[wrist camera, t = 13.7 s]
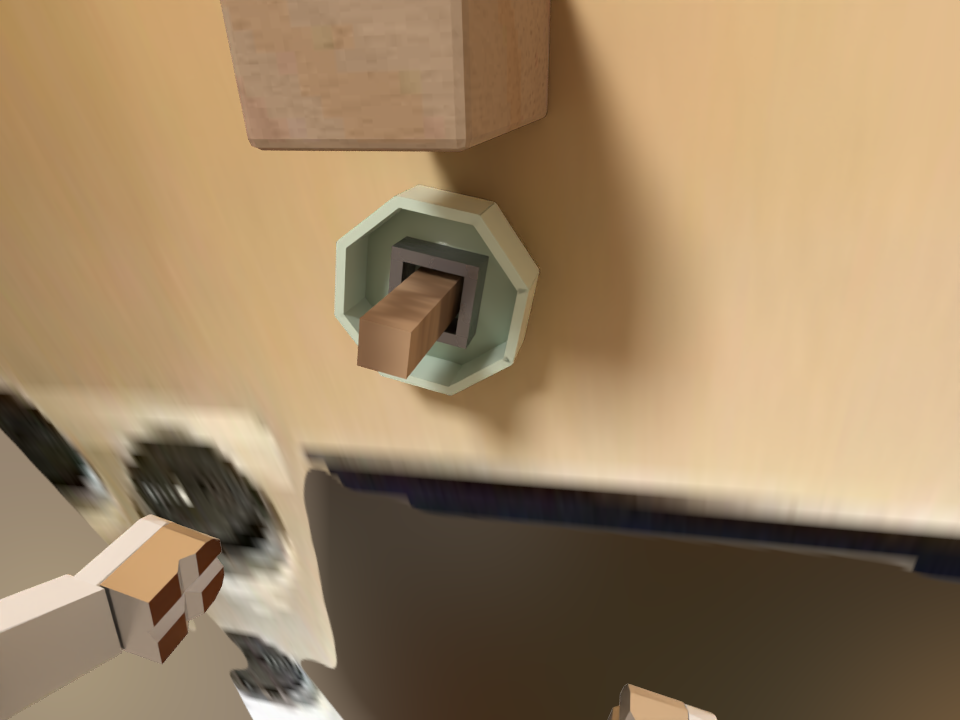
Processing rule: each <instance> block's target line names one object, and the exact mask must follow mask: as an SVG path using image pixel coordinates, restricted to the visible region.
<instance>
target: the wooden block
mask: <svg viewBox="0 0 960 720" xmlns="http://www.w3.org/2000/svg"><path fill="white" fill-rule="evenodd" d="M220 3H221V7H222V12H223V17H224V22H225V27H226V32H227V37H228V42H229V47H230V52H231V57H232V62H233V67H234V72H235V77H236V82H237V87H238V92H239V97H240V102H241V106H242V111H243V116H244V121H245V126H246V131H247V136H248V140H249V142H250V143H251V145H252V146H254V147H256V148H259V149H261V150H287V151H438V152H461V151H463V150H466V149H468V148H471V147H473V146H475V145H478V144H480V143H483V142H485V141H488V140H490V139H493V138H495V137H498V136H500V135H502V134H505V133H507V132H510V131H512V130H515V129H517V128H520V127H522V126H525V125H527V124H529V123H532V122H534V121H537V120H539V119H541V118H544V117H545V116H546V113H547V103H548V70H549V37H550V4H551V0H220Z"/></svg>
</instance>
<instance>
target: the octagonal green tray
mask: <svg viewBox="0 0 960 720" xmlns="http://www.w3.org/2000/svg"><path fill="white" fill-rule="evenodd" d="M406 236H408V237H412V238H416V239H421V240H425V241H429V242H433V243H437V244H441V245H445V246H449V247H453V248H457V249H462V250H466V251H470V252H474V253H478V254H482V255H486V256H489V260H488V266H487V272H486V277H485V283H484V289H483V295H482V300H481V306H480V312H479V318H478V324H477V329H476V334H475V336H474V337H473V339H472V340H471V342H470V343H469V345H468V346H467V348H466V349H464V348H460V347H456V346H453V345H449V344H445V343H442V342H438V341H436V342H435V343H434V345H433V346H432V347H431V349H430V350H429V351H428V352H427V354H426V355H425V356H424V357H423V359H422V360H421V361H420V363H419V364H418V365H417V366H416V368H415V369H414V370H413V371H412V373H411V374H410V375H409V376H408V378H407V379H403V378H400V377H396V376H393V375H389V374H386V373H382V372H379V371H378V372H379V374H380V375H382V376H384V377H387V378H391V379H394V380H398V381H401V382H405V383H408V384H412V385H415V386H419V387H422V388H425V389H429V390H432V391H436V392H439V393H443V394H446V395H450V396H451V395H454V394H456V393H458V392H460V391H462V390H464V389H466V388H468V387H470V386H472V385H473V384H475V383H477V382H479V381H481V380H483V379H485V378H487V377H489V376H491V375H493V374H495V373H497V372H499V371H501V370H503V369H505V368H507V367H509V366H511V365H512V364H513V363H514V361H515V358H516V356H517V354H518V352H519V350H520V347H521V345H522V343H523V341H524V338H525V334H526V329H527V325H528V320H529V316H530V311H531V307H532V303H533V298H534V294H535V289H536V285H537V280H538V276H539V268H538V267H537V265H536V264H535V262H534V261H533V259H532V258H531V256H530V255H529V253H528V251H527V250H526V248H525V247H524V245H523V244H522V242H521V241H520V239H519V238H518V236H517V234H516V233H515V231H514V230H513V228H512V227H511V225H510V224H509V222H508V221H507V219H506V217H505V216H504V214H503V213H502V211H501V210H500V208H499V207H498V205H497V204H496V203H495V202H493V201H489V200H485V199H480V198H476V197H471V196H467V195H463V194H458V193H454V192H449V191H445V190H441V189H436V188H432V187H427V186H423V185H417V186H415V187H412V188H410V189H408V190H406V191H404V192H402V193H400V194H398V195H396V196H394V197H393V198H392V199H390V200H389V201H388V202H386V203H385V204H384V205H383V206H381V207H380V208H379V209H378V210H376V211H375V212H374V213H372V214H371V215H370V216H369V217H367V218H366V219H365V220H363V221H362V222H361V223H360V224H358V225H357V226H356V227H354V228H353V229H352V230H351V231H349V232H348V233H347V234H346V235H344V236H343V237H342V238H340V239H339V240H338V241H337V242H336V277H335V313H334V315H335V317H336V318H337V319H338V321H339V322H340V323H341V325H342V326H343V327H344V329H345V330H346V331H347V332H348V334H349V335H350V336H351V338H352V339H353V340H354V341H355V343H356V344H357V345H358V339H359V319H360V318H361V317H362V316H363V315H364V314H365V313H366V312H368V311H369V310H370V309H371V308H372V307H374V306H375V305H376V304H377V303H378V302H379V301H381V300H382V299H383V298H384V297H385V296H387V295H388V289H389V277H390V264H391V252H392V246H393V245H394V244H396V243H397V242H399V241H400V240H402V239H403V238H405V237H406ZM420 267H421V266H419V265H415V271H416V270H417V269H418V268H420ZM458 317H459V313H458V314H457V316H456V317H455V318H458Z"/></svg>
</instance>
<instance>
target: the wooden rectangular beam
mask: <svg viewBox="0 0 960 720" xmlns="http://www.w3.org/2000/svg"><path fill="white" fill-rule="evenodd" d="M464 278H465V277H463V276H459V275H455V274H451V273H447V272H443V271H439V270H435V269H431V268H427V267H423V266H421V267H420V268H418V269H417V270H416V271H415V272H414V273H413V274H411V275H410V276H409V277H408V278H407V279H405V280H404V281H403V282H402V283H401V284H400V285H398V286H397V287H396V288H395V289H394V290H392V291H391V292H390V293H389V294H388V295H387V296H385V297H384V298H383V299H382V300H381V301H379V302H378V303H377V304H376V305H375V306H374V307H372V308H371V309H370V310H369V311H368V312H366V313H365V314H364V315H363V316H362V317H361V318H360V319H359V339H358V359H357V365H358V366H361V367H365V368H368V369H372V370H375V371H379V372H382V373H386V374H389V375H393V376H396V377H400V378H403V379H407V378H408V376H409V375H410V374H411V373H412V371H413V370H414V369H415V368H416V366H417V365H418V364H419V363H420V361H421V360H422V359H423V357H424V356H425V355H426V354H427V352H428V351H429V350H430V349H431V347H432V346H433V345H434V343H435V342H436V341H437V340H438V338H439V337H440V336H441V335H442V333H443V332H444V331H445V330H446V328H447V327H448V326H449V324H450V323H451V322H452V321H453V319H454V318H455V317H456V316H457V314H458V313H459V310H460V304H461V297H462V291H463V284H464Z"/></svg>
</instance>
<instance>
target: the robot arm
mask: <svg viewBox="0 0 960 720" xmlns="http://www.w3.org/2000/svg"><path fill="white" fill-rule="evenodd" d="M221 552H222V549H221V543H220V540H219V539H217V538H214V537H211V536H208V535H206V534H203V533H200V532H197V531H195V530H192V529H189V528H186V527H184V526H181V525H178V524H176V523H174V522H171V521H168V520H165V519H163V518H160V517H157V516H154V515H151V514H150V515H148V516H146V517H143V518H141V519H139V520H138V521H137V522H136V523H135V524H134V525H132V526H131V527H130V528H129V529H128V530H127V531H125V532H124V533H123V534H122V535H121V536H120V537H119V538H117V539H116V540H115V541H114V542H113V543H112V544H110V545H109V546H108V547H107V548H106V549H105V550H104V551H103V552H101V553H100V554H99V555H98V556H97V557H96V558H94V559H93V560H92V561H91V562H90V563H89V564H87V565H86V566H85V567H84V568H83V569H82V570H81V571H79V573H77V574H76V575H75V576H72V575H69V574H66V575H63V576H61V577H58V578H56V579H53V580H51V581H48V582H45V583H42V584H40V585H37V586H34V587H32V588H29V589H26V590H24V591H21V592H19V593H16V594H14V595H11V596H8V597H6V598H3V599H0V720H7V719H9V718H11V717H12V716H14V715H16V714H18V713H19V712H21V711H23V710H25V709H26V708H28V707H30V706H31V705H33V704H35V703H37V702H38V701H40V700H42V699H44V698H45V697H47V696H49V695H50V694H52V693H54V692H56V691H57V690H59V689H61V688H62V687H64V686H66V685H68V684H69V683H71V682H73V681H75V680H76V679H78V678H80V677H81V676H83V675H85V674H87V673H88V672H90V671H92V670H94V669H95V668H97V667H99V666H100V665H102V664H104V663H106V662H107V661H109V660H111V659H112V658H114V657H116V656H118V655H119V654H121V653H122V650H124V651H127V652H130V653H132V654H135V655H138V656H140V657H143V658H146V659H149V660H151V661H154V662H157V663H160V664H163V663H164V662H165V660H166V659H167V658H168V657H169V656H170V654H171V653H172V652H173V651H174V649H175V648H176V647H177V645H179V643H180V642H181V641H182V640H183V639H184V637H185V636H186V635H187V634H188V627H189V620H191V619H194V618H196V617H198V616H200V615H202V614H204V613H205V612H206V611H207V609H208V608H209V607H210V606H211V604H212V603H213V602H214V600H215V599H216V597H217V595H218V593H219V591H220V589H221V587H222V583H223V578H224V566H223V565H222V564H221V562H220V561H219V560H218V558H217V556H218V555H219V554H220V553H221ZM608 720H717V718H716V716H715V715H714V714H712V713H711V712H707V711H705V710H702V709H699V708H696V707H693V706H690V705H687V704H684V703H683V702H681V701H678V700H675V699H672V698H669V697H666V696H663V695H660V694H657V693H654V692H651V691H648V690H645V689H642V688H639V687H636V686H633V685H630V684H627V685H625V686H624V688H623V689H622V691H621V693H620V706H617V707H614V708H613V709H612V711H611V714H610V716H609V718H608Z"/></svg>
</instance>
